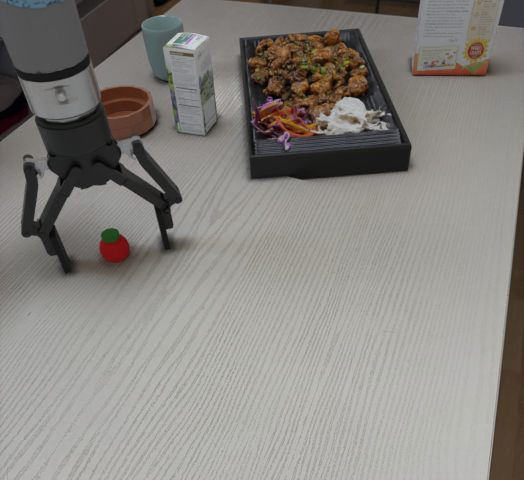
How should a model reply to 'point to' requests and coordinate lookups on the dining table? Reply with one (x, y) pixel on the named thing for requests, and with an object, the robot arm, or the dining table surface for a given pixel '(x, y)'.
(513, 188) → the dining table surface
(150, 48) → the cup
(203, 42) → the syrup box
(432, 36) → the cracker box
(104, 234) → the strawberry
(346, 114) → the food platter
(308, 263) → the dining table surface
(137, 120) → the bowl
